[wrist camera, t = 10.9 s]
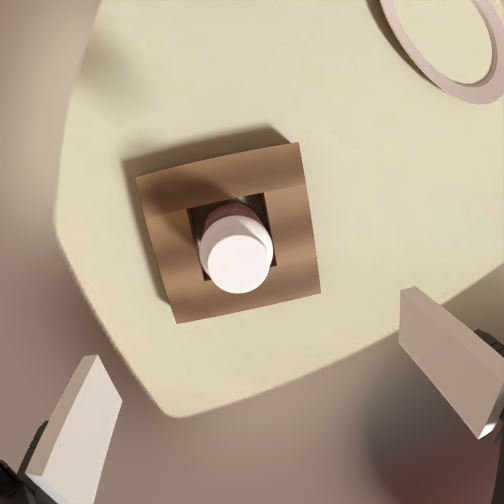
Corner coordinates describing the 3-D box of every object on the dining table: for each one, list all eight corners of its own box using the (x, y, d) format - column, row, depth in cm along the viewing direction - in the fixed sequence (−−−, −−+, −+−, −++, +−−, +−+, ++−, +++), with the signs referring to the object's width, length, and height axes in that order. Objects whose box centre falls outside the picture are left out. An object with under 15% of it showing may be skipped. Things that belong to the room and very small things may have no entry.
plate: (497, 5, 26) (504, 2, 24) (501, 131, 33) (510, 132, 31) (372, -70, 23) (377, -76, 21) (363, 62, 30) (370, 58, 28)
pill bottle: (191, 224, 33) (178, 255, 23) (239, 189, 33) (248, 205, 22) (226, 268, 35) (229, 316, 25) (272, 236, 34) (295, 272, 24)
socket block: (142, 175, 31) (134, 177, 28) (291, 143, 32) (298, 142, 29) (179, 311, 36) (176, 323, 33) (313, 282, 37) (320, 292, 34)
